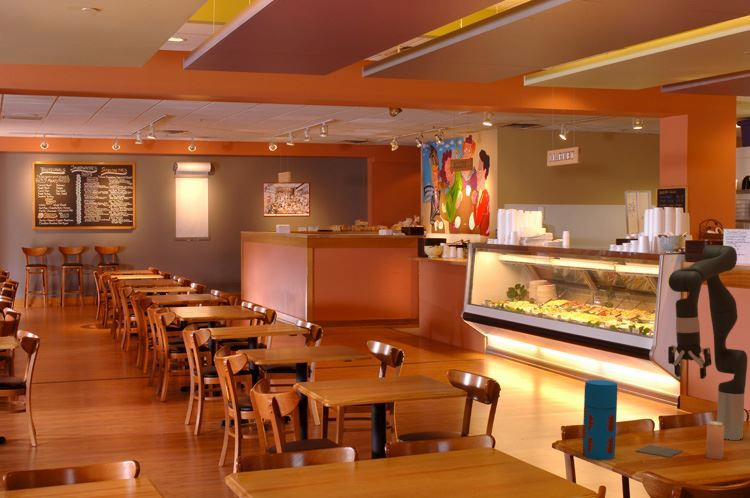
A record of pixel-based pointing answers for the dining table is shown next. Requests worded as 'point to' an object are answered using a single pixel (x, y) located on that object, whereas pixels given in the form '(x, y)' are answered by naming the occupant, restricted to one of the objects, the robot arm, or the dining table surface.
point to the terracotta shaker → (715, 440)
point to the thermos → (599, 419)
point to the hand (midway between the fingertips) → (690, 377)
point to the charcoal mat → (659, 451)
